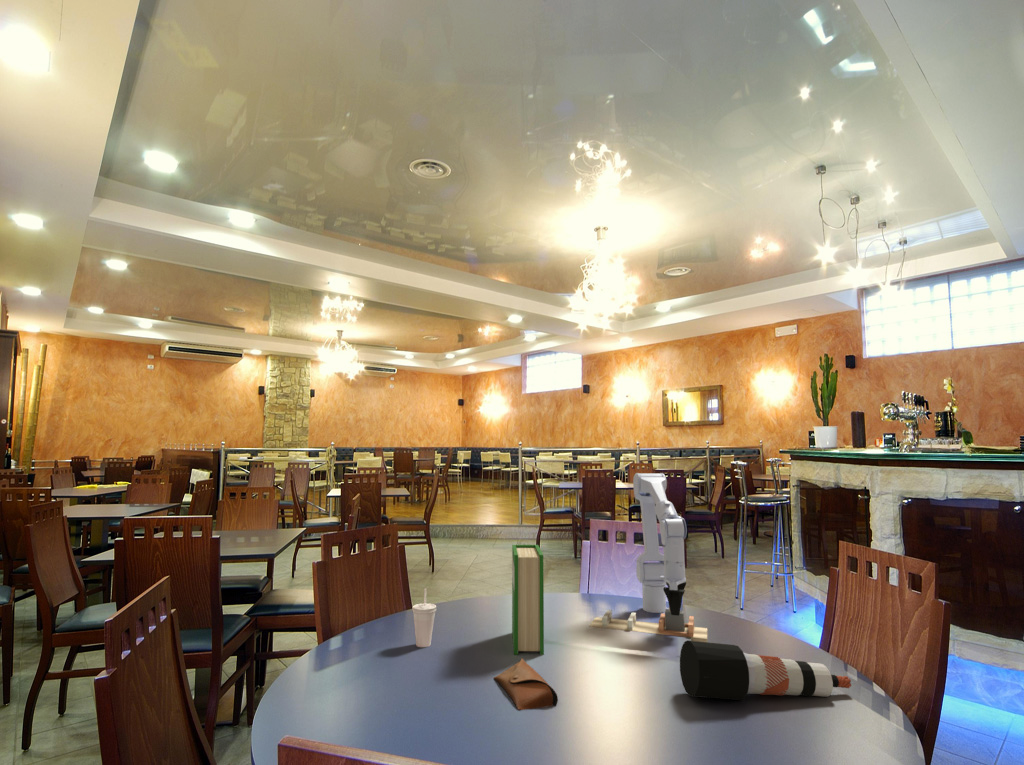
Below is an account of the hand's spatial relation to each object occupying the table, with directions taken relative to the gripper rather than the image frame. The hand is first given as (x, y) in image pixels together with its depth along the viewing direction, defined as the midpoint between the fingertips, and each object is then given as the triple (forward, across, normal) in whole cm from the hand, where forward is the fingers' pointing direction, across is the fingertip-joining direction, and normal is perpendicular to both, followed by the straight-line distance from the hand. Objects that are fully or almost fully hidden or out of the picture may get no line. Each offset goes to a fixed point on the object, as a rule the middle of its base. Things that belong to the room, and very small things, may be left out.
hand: (676, 611), depth 152 cm
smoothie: (+6, +33, -62) cm, 71 cm away
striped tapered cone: (+6, +36, +20) cm, 42 cm away
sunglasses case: (+6, +51, -28) cm, 59 cm away
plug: (+5, 0, 0) cm, 5 cm away
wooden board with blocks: (+6, 0, -8) cm, 10 cm away
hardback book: (+6, +22, -37) cm, 44 cm away
